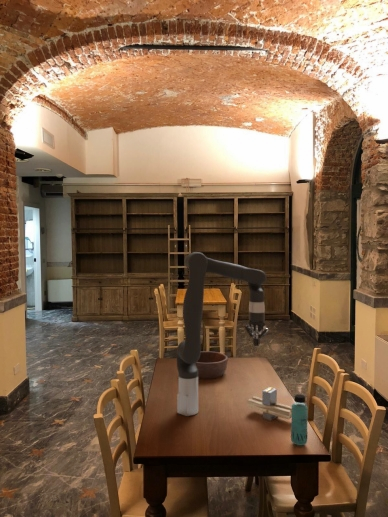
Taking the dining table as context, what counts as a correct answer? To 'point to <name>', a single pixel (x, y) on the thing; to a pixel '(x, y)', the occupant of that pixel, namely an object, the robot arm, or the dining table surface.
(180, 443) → the dining table surface
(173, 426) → the dining table surface
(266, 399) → the block
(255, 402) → the beam
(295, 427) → the beverage bottle
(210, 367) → the wooden bowl
